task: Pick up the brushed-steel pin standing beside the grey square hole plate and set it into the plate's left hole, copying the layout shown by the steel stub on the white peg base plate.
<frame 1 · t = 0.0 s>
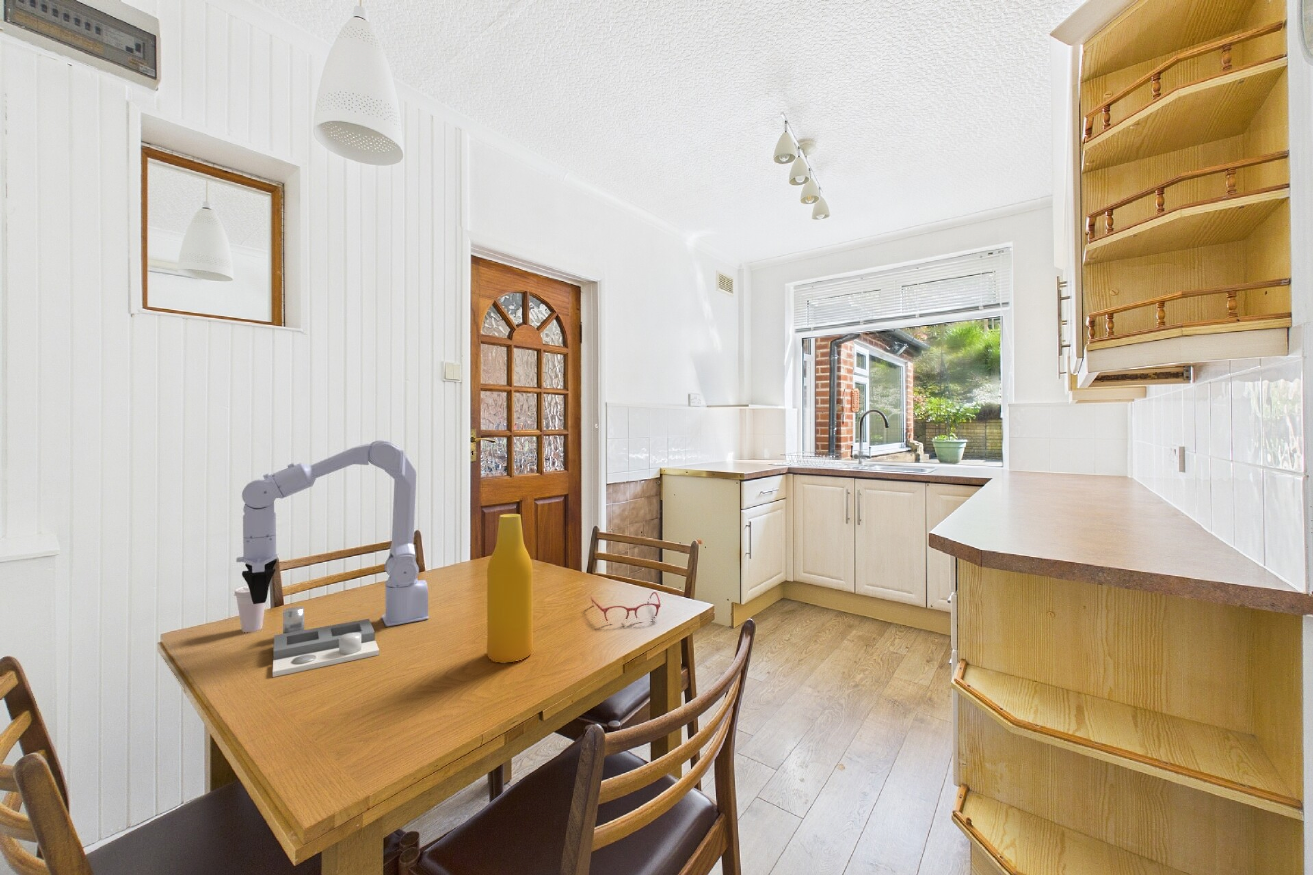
hand: (260, 598, 117), 10 cm above the table, tool pointing down, fingers open, 7 cm apart
red eyeglasses: (626, 615, 138), on the table
white peg base plate: (327, 659, 109), on the table
beer bottle: (510, 655, 112), on the table
pin: (293, 636, 122), on the table
smoothie: (252, 630, 126), on the table
grey square hole plate: (325, 645, 117), on the table
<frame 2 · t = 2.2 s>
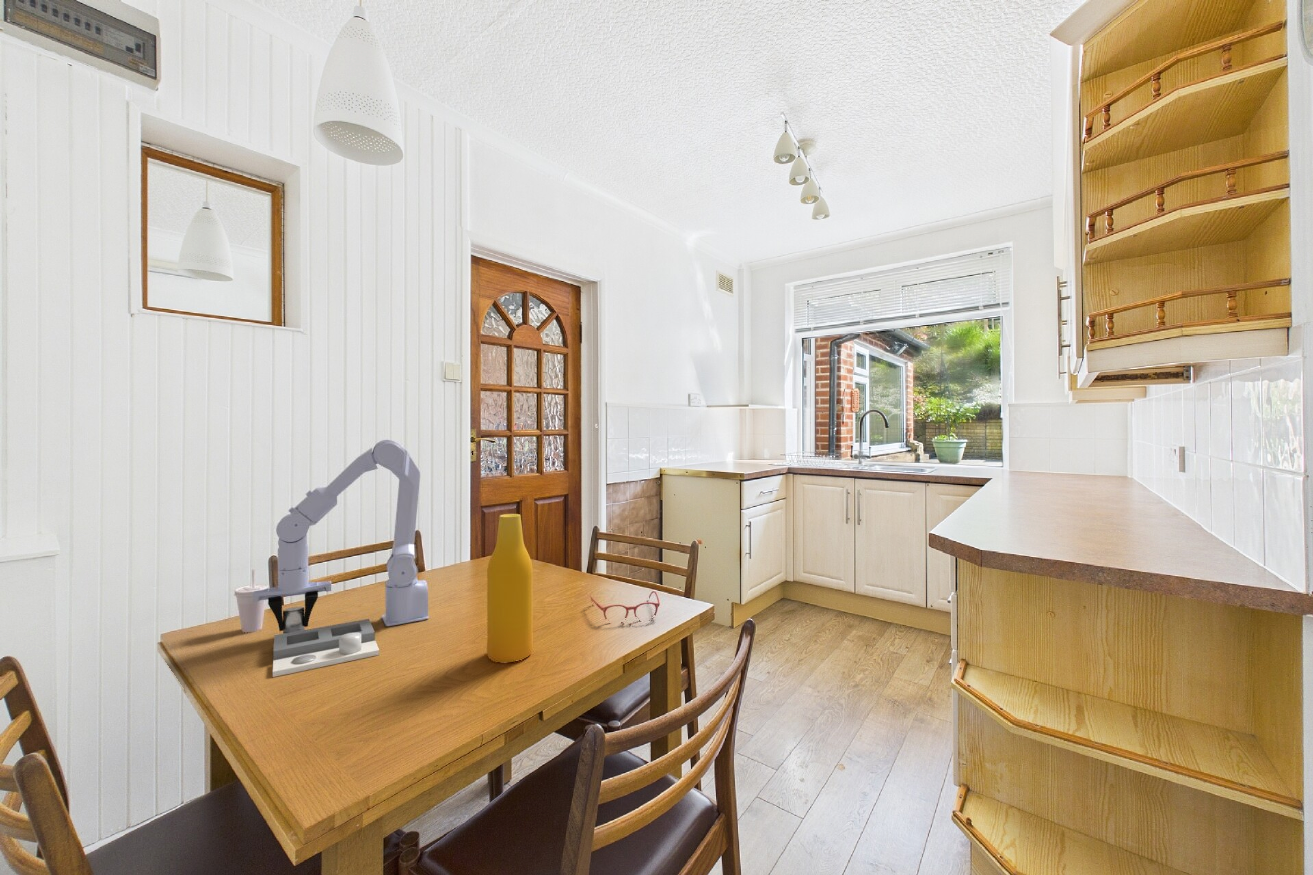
hand: (293, 627, 122), 2 cm above the table, tool pointing down, fingers closed on pin, 4 cm apart
pin: (293, 635, 122), on the table, touching gripper
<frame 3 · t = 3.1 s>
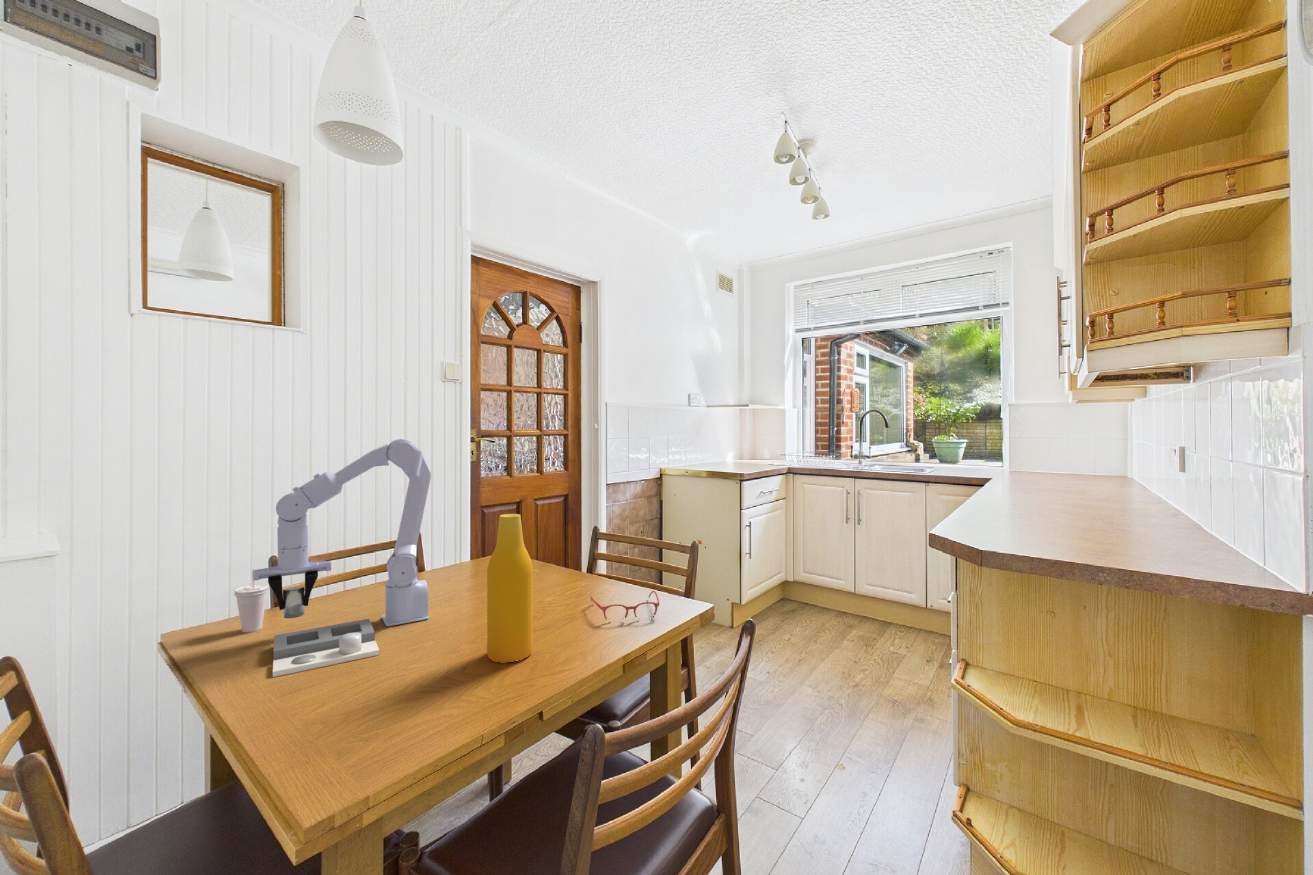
hand: (294, 606, 122), 7 cm above the table, tool pointing down, fingers closed on pin, 4 cm apart
pin: (294, 615, 122), point 5 cm above the table, touching gripper
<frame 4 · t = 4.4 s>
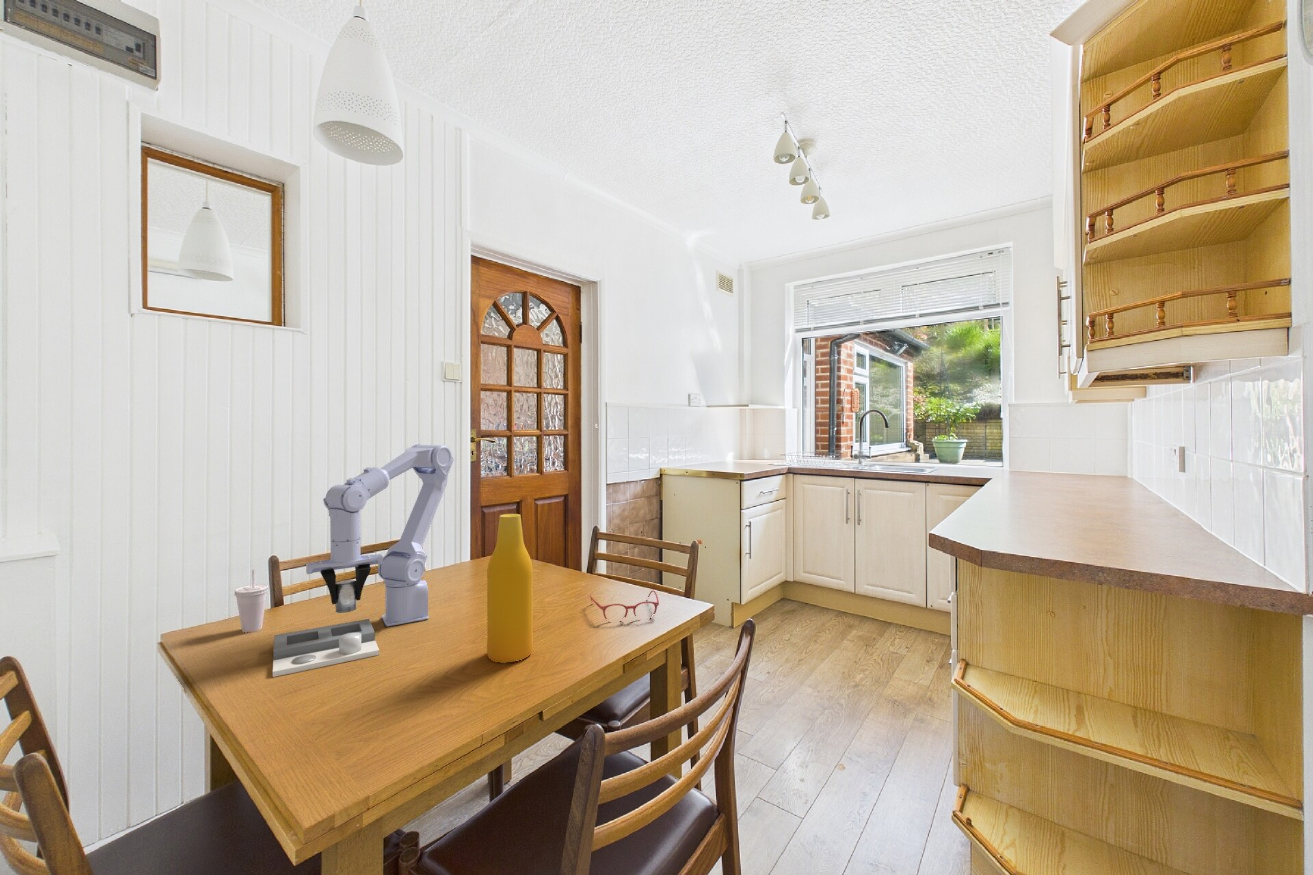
hand: (346, 601, 119), 9 cm above the table, tool pointing down, fingers closed on pin, 4 cm apart
pin: (346, 609, 119), point 7 cm above the table, touching gripper
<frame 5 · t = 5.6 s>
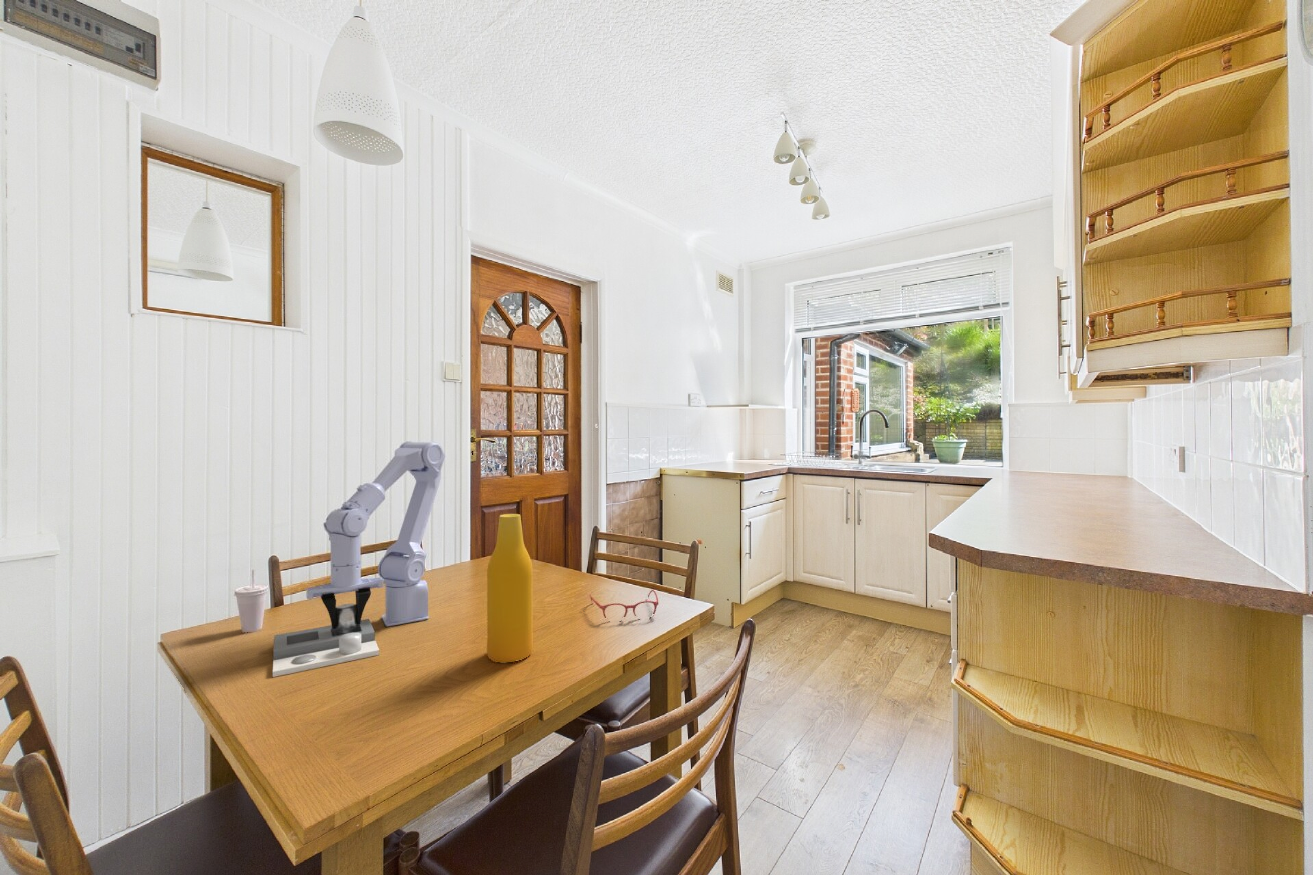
hand: (346, 625, 119), 4 cm above the table, tool pointing down, fingers closed on pin, 4 cm apart
pin: (346, 633, 119), point 2 cm above the table, touching gripper
when the fingers open (3 cm above the table, at t = 6.5 s): pin drops 2 cm, resting in grey square hole plate.
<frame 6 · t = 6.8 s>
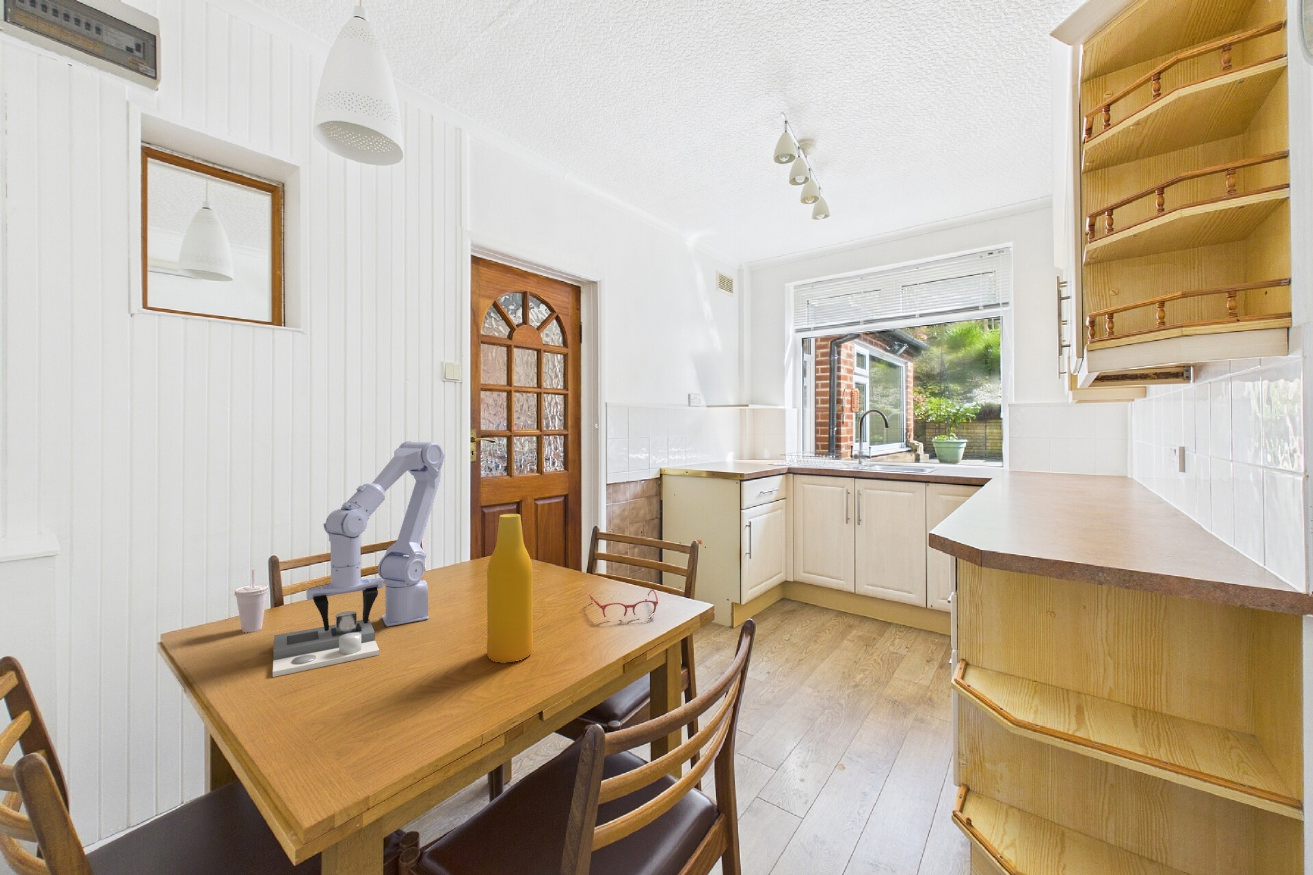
hand: (346, 625, 119), 3 cm above the table, tool pointing down, fingers open, 7 cm apart
pin: (346, 641, 119), resting in grey square hole plate
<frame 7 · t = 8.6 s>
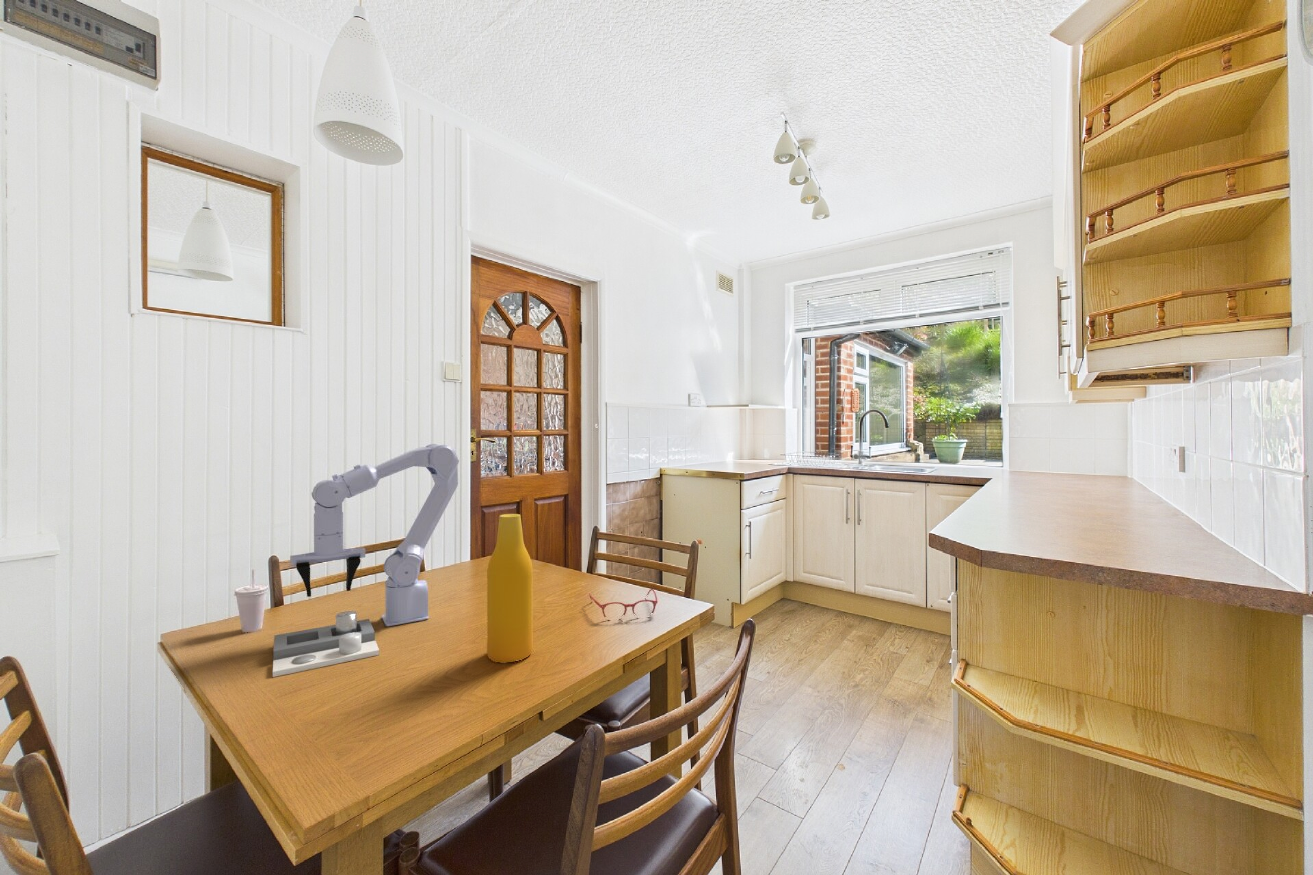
hand: (329, 592, 123), 9 cm above the table, tool pointing down, fingers open, 7 cm apart
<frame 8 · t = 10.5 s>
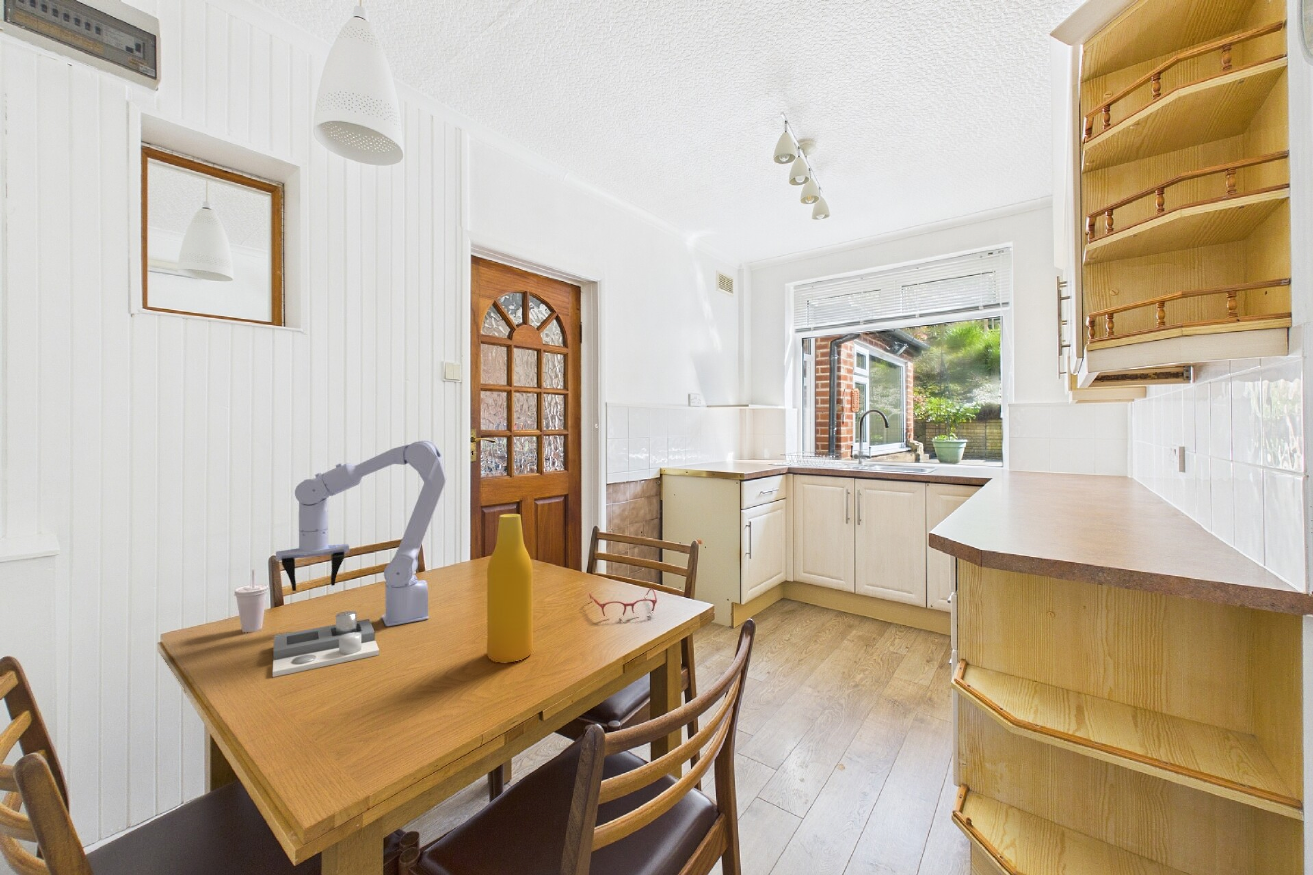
hand: (313, 587, 127), 9 cm above the table, tool pointing down, fingers open, 7 cm apart
at the end: pin 0.0 cm from the target spot on the grey square hole plate, point 0.0 cm above the grey square hole plate's base; pin tilted 0°; the gripper is holding nothing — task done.
